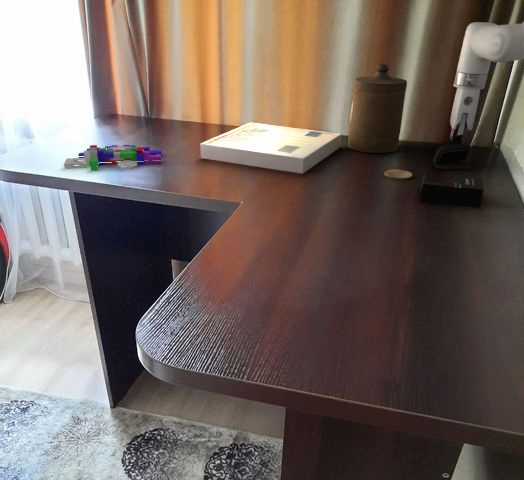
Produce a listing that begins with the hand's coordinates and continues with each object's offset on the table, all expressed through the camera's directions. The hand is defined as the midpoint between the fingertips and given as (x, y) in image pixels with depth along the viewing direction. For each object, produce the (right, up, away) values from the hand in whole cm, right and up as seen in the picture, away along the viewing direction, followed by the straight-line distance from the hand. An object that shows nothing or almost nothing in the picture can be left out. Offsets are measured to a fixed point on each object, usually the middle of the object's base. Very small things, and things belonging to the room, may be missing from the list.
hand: (452, 155), depth 139 cm
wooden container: (-19, +7, +14) cm, 25 cm away
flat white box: (-49, +3, +7) cm, 50 cm away
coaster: (-17, -9, -9) cm, 21 cm away
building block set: (-92, -1, 0) cm, 92 cm away
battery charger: (-9, -19, -23) cm, 31 cm away
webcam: (-1, -4, -2) cm, 5 cm away
